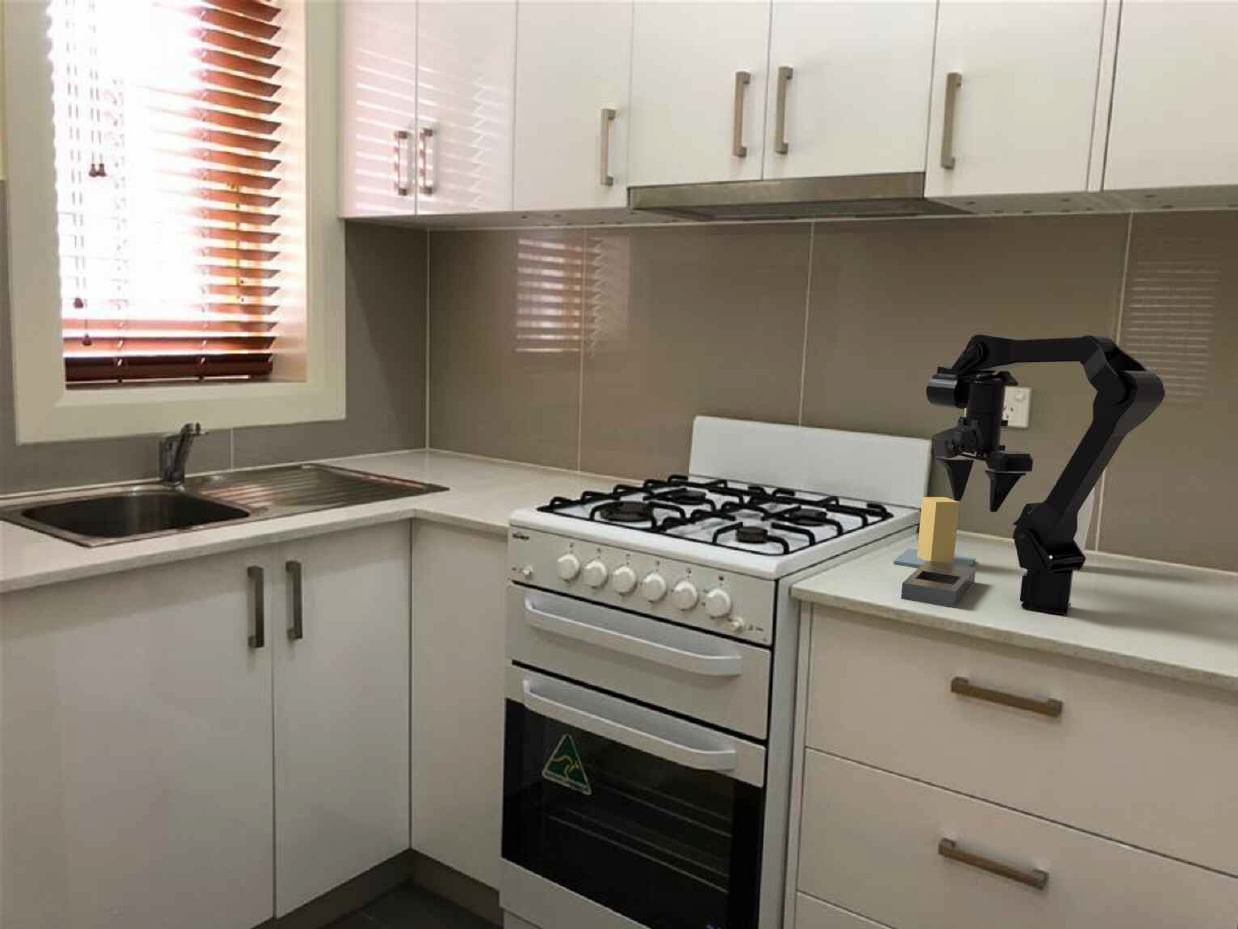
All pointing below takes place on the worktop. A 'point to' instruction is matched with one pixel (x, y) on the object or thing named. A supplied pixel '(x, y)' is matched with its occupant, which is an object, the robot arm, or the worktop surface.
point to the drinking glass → (1084, 521)
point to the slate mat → (912, 560)
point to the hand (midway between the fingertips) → (974, 506)
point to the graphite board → (938, 583)
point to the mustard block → (938, 529)
